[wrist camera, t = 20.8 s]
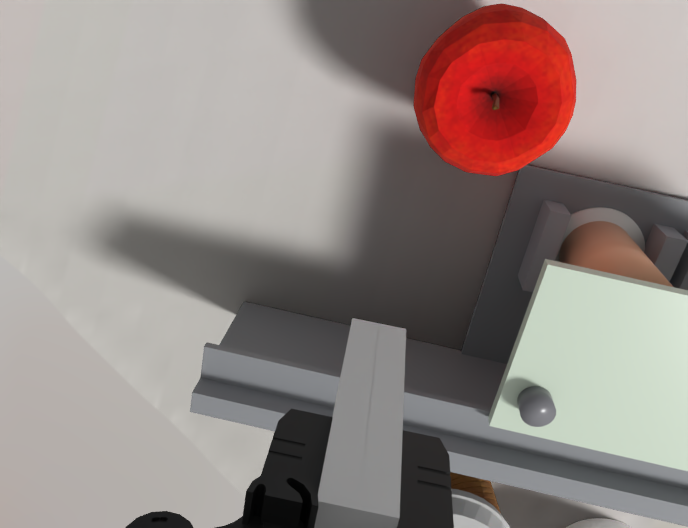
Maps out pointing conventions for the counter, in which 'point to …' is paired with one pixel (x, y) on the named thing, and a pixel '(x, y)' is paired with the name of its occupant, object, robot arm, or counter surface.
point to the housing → (469, 355)
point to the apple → (495, 90)
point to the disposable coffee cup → (474, 503)
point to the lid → (600, 366)
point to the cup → (599, 523)
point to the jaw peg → (609, 252)
